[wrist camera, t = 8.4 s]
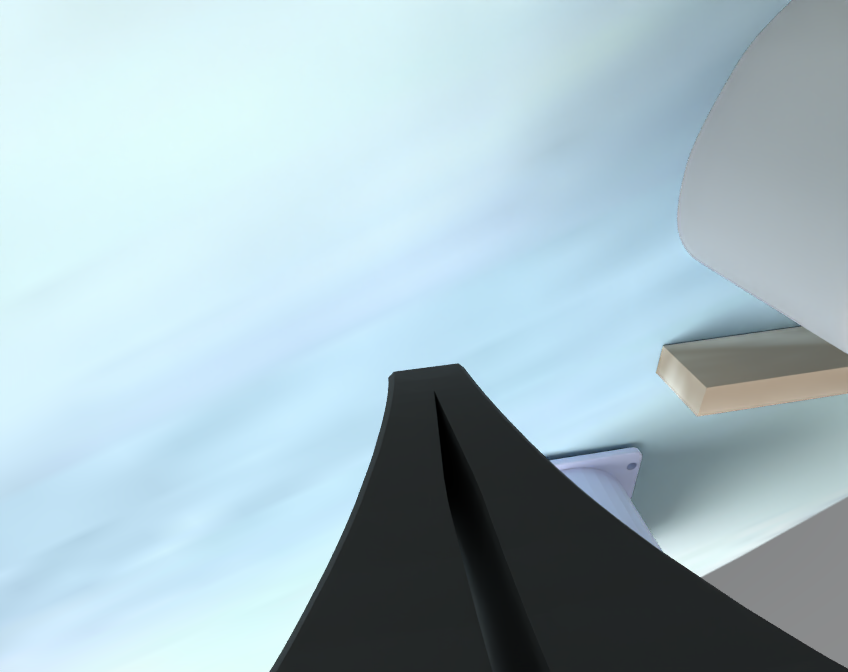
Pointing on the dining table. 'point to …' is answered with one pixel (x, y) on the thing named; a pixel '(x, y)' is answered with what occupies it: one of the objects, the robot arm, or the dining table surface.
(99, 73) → the dining table surface
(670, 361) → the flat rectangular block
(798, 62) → the lumpy-topped squat cylinder
